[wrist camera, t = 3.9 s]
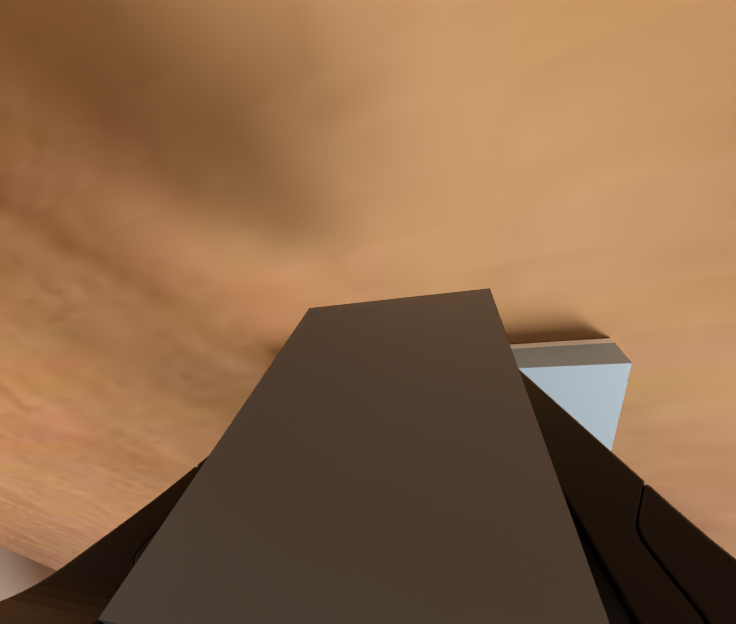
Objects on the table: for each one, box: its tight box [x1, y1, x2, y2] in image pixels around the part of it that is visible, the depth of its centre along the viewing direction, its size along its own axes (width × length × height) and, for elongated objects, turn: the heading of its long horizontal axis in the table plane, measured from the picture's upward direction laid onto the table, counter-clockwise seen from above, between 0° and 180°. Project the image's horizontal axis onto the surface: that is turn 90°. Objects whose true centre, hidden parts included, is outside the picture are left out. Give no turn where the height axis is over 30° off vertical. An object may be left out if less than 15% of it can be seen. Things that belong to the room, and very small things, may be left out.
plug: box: [98, 288, 610, 624], centre depth 6 cm, size 4×4×7 cm
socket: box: [510, 338, 632, 451], centre depth 20 cm, size 12×18×2 cm, turn 102°
